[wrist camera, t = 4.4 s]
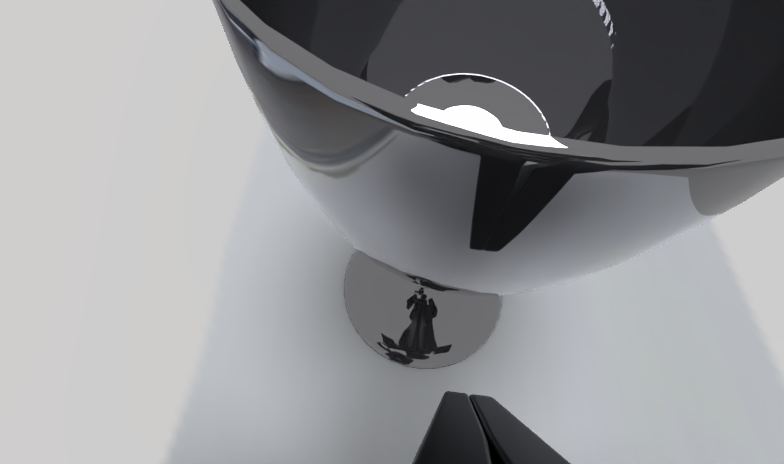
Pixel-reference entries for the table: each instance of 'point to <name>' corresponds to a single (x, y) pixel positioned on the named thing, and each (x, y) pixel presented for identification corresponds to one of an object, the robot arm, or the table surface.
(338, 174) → the wine glass
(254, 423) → the table surface
